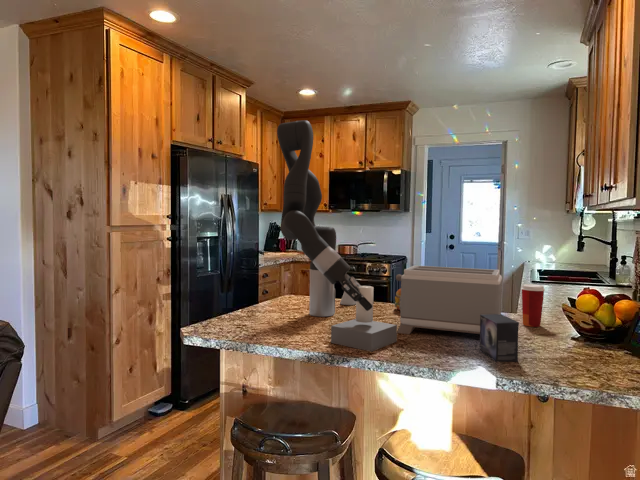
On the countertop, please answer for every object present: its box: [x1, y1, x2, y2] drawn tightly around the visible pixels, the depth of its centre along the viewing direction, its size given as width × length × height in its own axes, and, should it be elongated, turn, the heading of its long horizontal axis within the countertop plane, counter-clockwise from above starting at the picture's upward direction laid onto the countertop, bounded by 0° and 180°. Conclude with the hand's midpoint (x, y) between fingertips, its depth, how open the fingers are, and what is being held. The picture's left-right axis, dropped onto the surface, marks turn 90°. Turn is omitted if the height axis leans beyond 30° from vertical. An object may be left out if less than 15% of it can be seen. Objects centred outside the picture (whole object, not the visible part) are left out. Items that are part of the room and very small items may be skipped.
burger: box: [394, 288, 401, 311], centre depth 189 cm, size 13×14×10 cm
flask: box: [339, 290, 356, 306], centre depth 202 cm, size 7×7×10 cm
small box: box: [479, 313, 520, 363], centre depth 128 cm, size 11×6×10 cm, turn 5°
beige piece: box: [355, 285, 375, 323], centre depth 139 cm, size 5×5×10 cm
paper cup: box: [520, 283, 546, 328], centre depth 165 cm, size 8×8×14 cm
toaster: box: [395, 265, 503, 335], centre depth 155 cm, size 19×34×20 cm, turn 67°
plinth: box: [330, 318, 398, 353], centre depth 140 cm, size 14×14×5 cm
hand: (370, 306), depth 139 cm, fingers closed on beige piece, 5 cm apart
